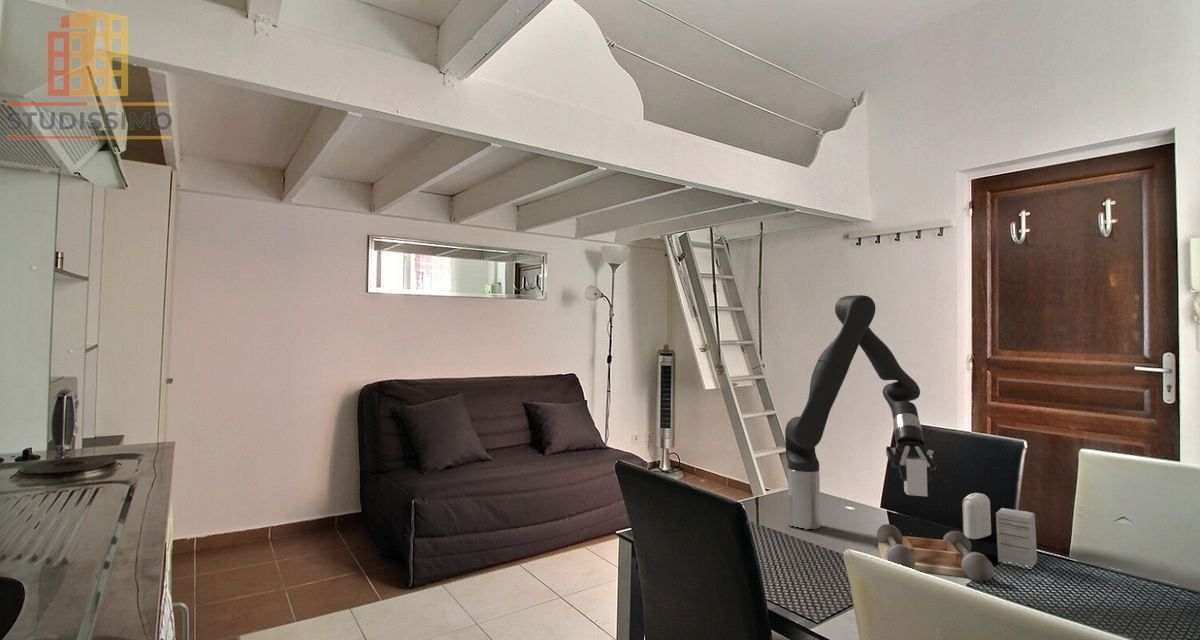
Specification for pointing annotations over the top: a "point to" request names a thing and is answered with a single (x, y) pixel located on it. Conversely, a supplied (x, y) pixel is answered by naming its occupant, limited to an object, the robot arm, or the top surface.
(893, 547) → the chassis
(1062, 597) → the top surface
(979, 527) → the arched gray pillar
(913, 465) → the beige rectangular block
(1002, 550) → the supplement box
